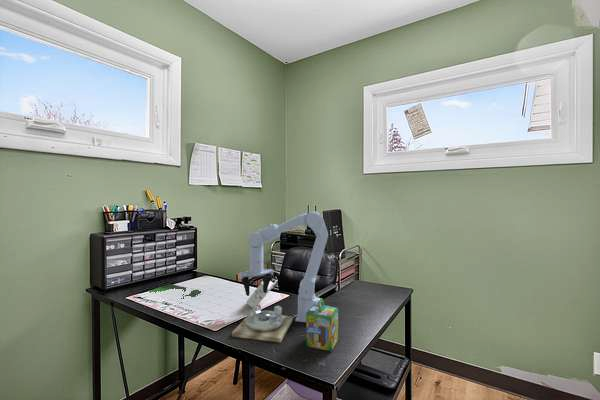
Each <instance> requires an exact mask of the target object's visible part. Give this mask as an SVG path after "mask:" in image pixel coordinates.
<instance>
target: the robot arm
mask: <svg viewBox="0 0 600 400" xmlns="http://www.w3.org/2000/svg"><path fill="white" fill-rule="evenodd" d="M306 225H307V226H308V228H310V229H311V230H312V231H313V233H314V234H315V236H316V237H315V241H314V243H313V247H312V251H311V253H310V254H311V255H310V257H309V259H308V260H309V261H308V264H307V268H306V271H305V274H304V276H303V278H302V279H301V280H300V283H299V288H298V295H297V315H296V317H295V318H294V319H295V320H294V321H295V322H300V323H306V312H307V311H308V310H309V309H310V308H311V307H312V306H313V305H314V304H317V305H318V301H319V300H320V299H321V298H322V297H321V298H320V297H317V296H316V294H315V288H316V287H315V284H316V279H317V275H318V273H319V269H320V266H321V262H322V259H323V255H324V252H325V249H326V245H327V242H328V238H329V232H328V228H327V226H326V223H325V219H324V218H323V217H322V215H321V214H320V213H319V212H318V211H315V210H312V211H310V212H309V213H308V212H306V213H302V214H300V215H299V214H298V215H297V216H295V217H292V218H291V219H288V220H287V221H285V222H283V223H281V224H275V223H273V224H272V223H269V224H268V225H267V226H266V227H263V228H258V229H257V231H255V232H253V233H251V234H249V237H248V240H247V241H248V244H249V270H248V271H244V272H239V273H238V279H240V280H241V283H242V284H243V285H242V286H243V287H244V291H245V295H246V296H247V297H250V283H251V280H250V278H254V277H256V278H257V277H261V276H262V282H263V292H265V293H267V289H268V285H269V283H270V281H271V280H272V279H273V275H274V269H273V268H268V269H264V243H268V242H271V241H272V240H274V239H277V238H279V237H281V234H282V233H284V232H285V231H287V230H290V229H292V228H295V227H298V226H301V227H303V226H304V227H306ZM271 282H272V281H271ZM267 294H268V293H267ZM320 305H322V303H320Z"/></svg>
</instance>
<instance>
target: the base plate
mask: <svg viewBox="0 0 600 400" xmlns="http://www.w3.org/2000/svg"><path fill="white" fill-rule="evenodd" d="M250 313H253V311H252V312H250ZM282 316H283V325H282V326H281V327H280V328H278V329H276V330H273V331H268V332H257V331H253V330H250V329H248V328H247V327H246V317H244V319H243V320H242V321H241V322H240V324H239V325H237V326H236V328H235V329H233V331H232V332H231V337H234V338H242V339H251V340H258V341H266V342H273V343H274V342H275V343H282V341H283V340H284V337H285V335H286V334H287V332H288V330H289V329H290V326H292V323H293V321H294V316H290V315H282Z"/></svg>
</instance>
